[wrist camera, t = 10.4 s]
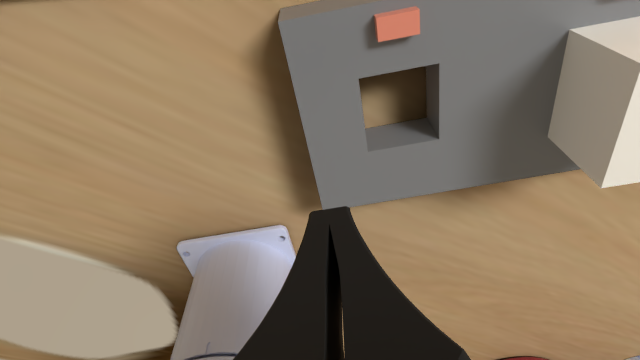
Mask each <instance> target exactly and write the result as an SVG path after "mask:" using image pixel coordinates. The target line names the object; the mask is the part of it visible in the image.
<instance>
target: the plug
mask: <svg viewBox="0 0 640 360" xmlns="http://www.w3.org/2000/svg"><path fill="white" fill-rule="evenodd" d="M548 138H549V139H550V140H551V141H552V142H553V143H554V144H555V145H556V146H558V147H559V148H560V149H561V150H562V151H563V152H564V153H565V154H566V155H567V156H568V157H569V158H570V159H571V160H572V161H573V162H574V163H575V164H576V165H577V166H578V167H579V168H581V169H582V170H583V171H584V172H585V173H586V174H587V175H588V176H589V177H590V178H591V179H592V180H593V181H594V182H595V183H596V184H597V185H598V186H599V187H600V188H606V187H612V186H618V185H625V184H631V183H637V182H640V16H639V17H633V18H628V19H623V20H617V21H612V22H607V23H601V24H596V25H591V26H585V27H580V28H575V29H570V30H569V34H568V39H567V44H566V49H565V54H564V59H563V64H562V69H561V73H560V78H559V83H558V88H557V93H556V98H555V103H554V108H553V113H552V117H551V122H550V127H549V132H548Z"/></svg>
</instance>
